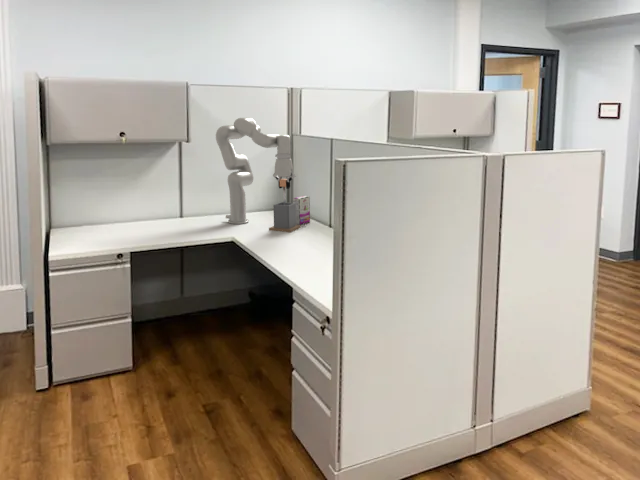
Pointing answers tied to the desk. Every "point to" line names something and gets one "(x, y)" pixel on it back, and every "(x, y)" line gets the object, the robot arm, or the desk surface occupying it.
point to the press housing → (285, 217)
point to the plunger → (283, 184)
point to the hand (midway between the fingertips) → (284, 188)
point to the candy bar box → (302, 209)
